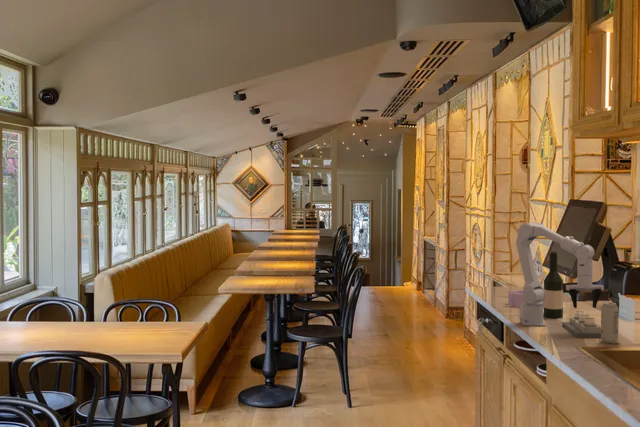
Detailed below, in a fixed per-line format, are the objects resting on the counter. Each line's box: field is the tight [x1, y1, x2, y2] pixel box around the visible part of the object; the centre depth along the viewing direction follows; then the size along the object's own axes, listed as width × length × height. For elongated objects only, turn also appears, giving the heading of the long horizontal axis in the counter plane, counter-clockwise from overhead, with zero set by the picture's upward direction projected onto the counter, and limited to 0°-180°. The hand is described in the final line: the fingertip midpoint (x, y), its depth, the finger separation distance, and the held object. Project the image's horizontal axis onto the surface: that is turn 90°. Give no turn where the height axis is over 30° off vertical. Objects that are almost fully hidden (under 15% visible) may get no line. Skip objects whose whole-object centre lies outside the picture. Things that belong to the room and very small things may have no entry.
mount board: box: [561, 316, 601, 339], centre depth 275 cm, size 12×22×4 cm, turn 175°
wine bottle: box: [543, 250, 564, 319], centre depth 305 cm, size 8×8×30 cm
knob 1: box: [573, 310, 586, 319], centre depth 282 cm, size 4×4×3 cm
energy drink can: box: [600, 301, 619, 344], centre depth 257 cm, size 6×6×15 cm
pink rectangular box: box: [507, 289, 544, 309], centre depth 332 cm, size 20×12×7 cm, turn 79°
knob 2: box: [579, 313, 591, 322], centre depth 275 cm, size 4×4×3 cm
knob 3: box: [585, 317, 596, 326], centre depth 268 cm, size 4×4×3 cm
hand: (584, 307), depth 275 cm, fingers open, 7 cm apart
